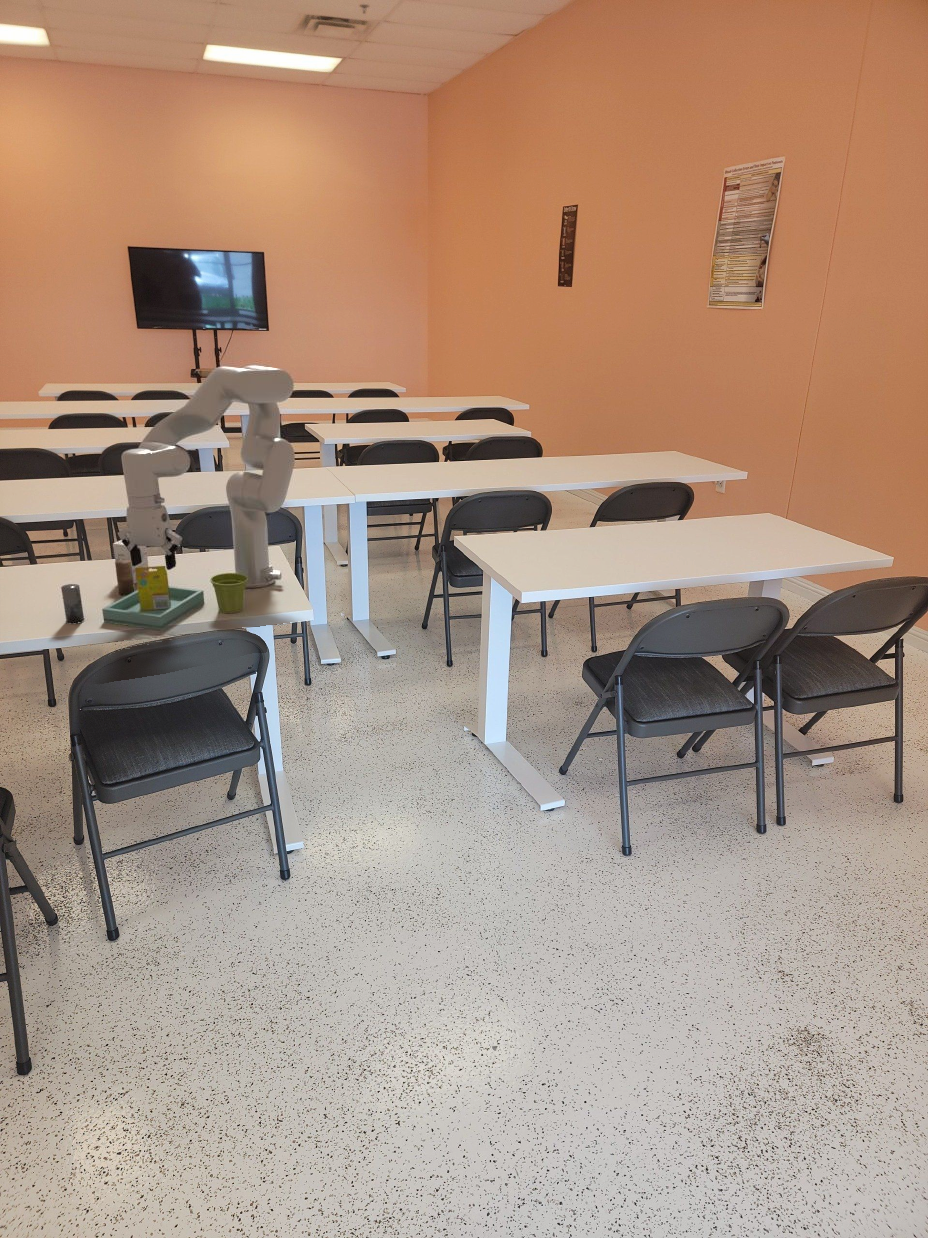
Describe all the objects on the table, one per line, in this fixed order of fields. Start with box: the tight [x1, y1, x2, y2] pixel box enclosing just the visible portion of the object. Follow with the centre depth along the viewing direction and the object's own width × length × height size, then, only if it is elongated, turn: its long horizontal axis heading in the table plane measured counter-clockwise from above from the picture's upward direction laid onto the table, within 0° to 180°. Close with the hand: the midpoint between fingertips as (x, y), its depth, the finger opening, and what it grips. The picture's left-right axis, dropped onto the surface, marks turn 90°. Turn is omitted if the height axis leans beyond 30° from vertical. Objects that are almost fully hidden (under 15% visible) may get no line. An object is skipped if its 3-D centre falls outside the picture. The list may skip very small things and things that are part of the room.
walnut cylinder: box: [114, 560, 136, 597], centre depth 216 cm, size 4×4×9 cm
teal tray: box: [101, 585, 205, 631], centre depth 205 cm, size 16×20×4 cm
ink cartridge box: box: [112, 533, 150, 585], centre depth 225 cm, size 9×5×15 cm, turn 168°
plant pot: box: [209, 572, 248, 614], centre depth 208 cm, size 9×9×9 cm
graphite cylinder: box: [60, 583, 85, 624], centre depth 197 cm, size 4×4×9 cm
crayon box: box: [135, 565, 171, 611], centre depth 203 cm, size 7×3×12 cm, turn 108°
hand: (154, 566), depth 202 cm, fingers open, 9 cm apart
